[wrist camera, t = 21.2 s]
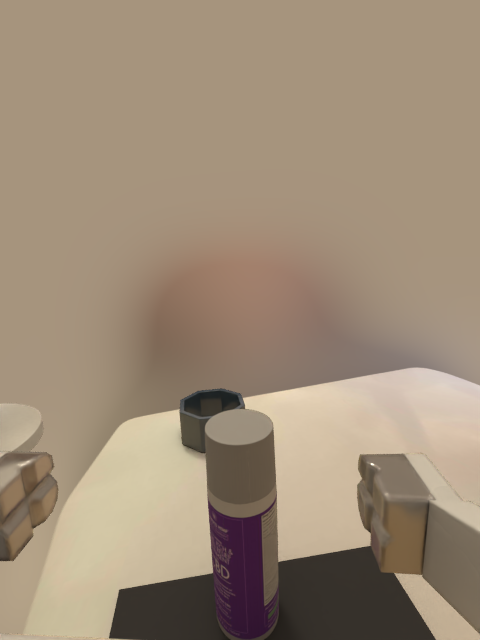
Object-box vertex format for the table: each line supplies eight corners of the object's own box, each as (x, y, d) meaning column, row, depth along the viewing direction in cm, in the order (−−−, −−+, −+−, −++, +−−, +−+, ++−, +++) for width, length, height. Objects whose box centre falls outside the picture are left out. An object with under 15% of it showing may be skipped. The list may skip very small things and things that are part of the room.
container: (204, 627, 23) (188, 436, 20) (232, 568, 27) (223, 403, 24) (266, 658, 21) (259, 453, 18) (286, 590, 25) (284, 414, 22)
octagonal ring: (181, 455, 44) (178, 421, 43) (183, 421, 52) (180, 392, 51) (249, 447, 45) (248, 413, 44) (239, 415, 54) (238, 386, 53)
